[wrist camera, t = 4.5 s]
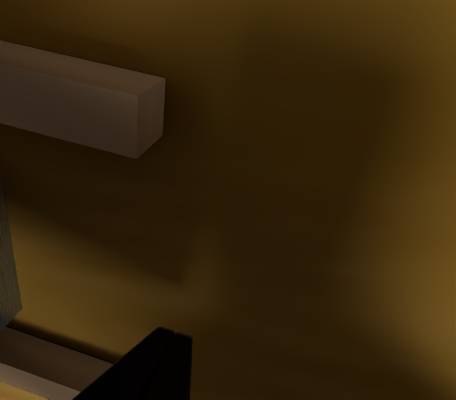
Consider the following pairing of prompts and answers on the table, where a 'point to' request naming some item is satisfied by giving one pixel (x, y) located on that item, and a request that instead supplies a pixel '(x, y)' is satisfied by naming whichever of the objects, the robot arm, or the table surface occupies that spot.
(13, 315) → the block
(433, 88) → the table surface
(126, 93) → the brown u-shaped frame
